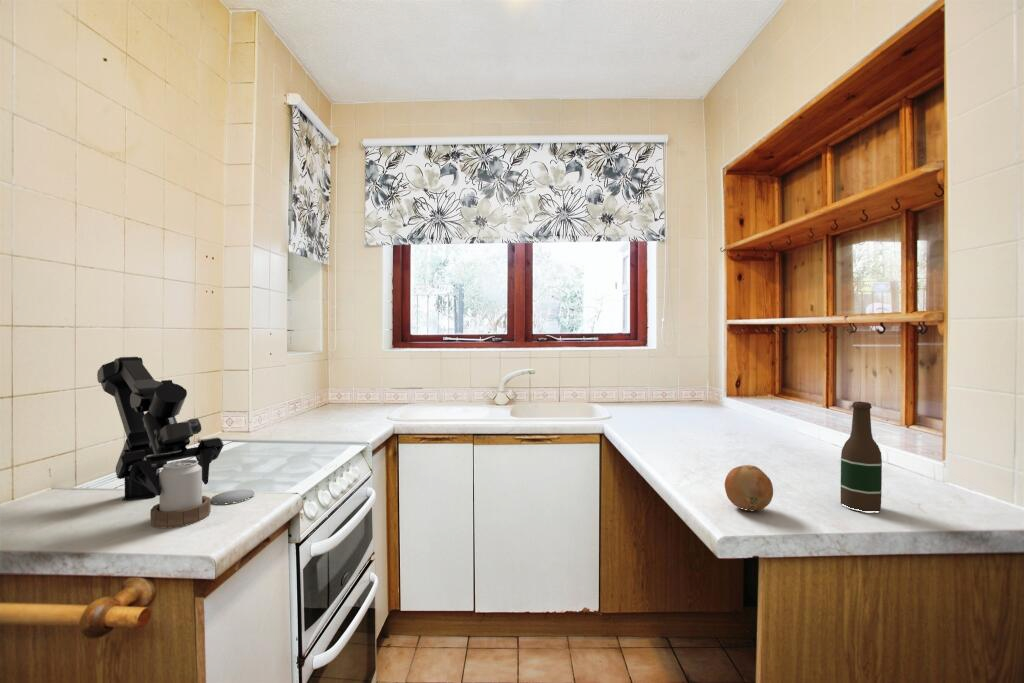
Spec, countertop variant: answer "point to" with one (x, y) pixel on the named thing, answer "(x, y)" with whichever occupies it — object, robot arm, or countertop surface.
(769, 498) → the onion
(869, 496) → the beer bottle
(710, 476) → the countertop surface
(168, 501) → the can
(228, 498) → the mat
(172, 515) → the collar
